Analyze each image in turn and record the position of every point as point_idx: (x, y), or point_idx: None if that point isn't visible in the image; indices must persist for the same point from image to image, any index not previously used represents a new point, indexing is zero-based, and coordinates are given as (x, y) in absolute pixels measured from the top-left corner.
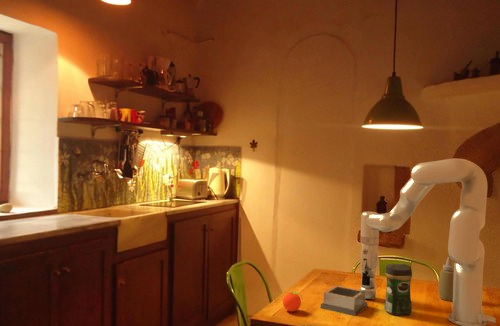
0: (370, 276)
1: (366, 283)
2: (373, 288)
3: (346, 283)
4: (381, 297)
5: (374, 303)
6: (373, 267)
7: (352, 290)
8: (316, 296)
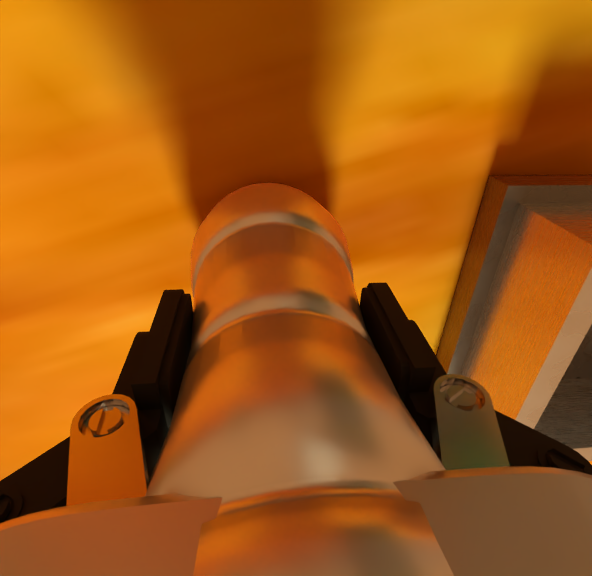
0: (381, 363)
1: (412, 322)
2: (303, 232)
3: (8, 468)
4: (125, 146)
5: (374, 145)
6: (513, 514)
7: (568, 350)
8: None
